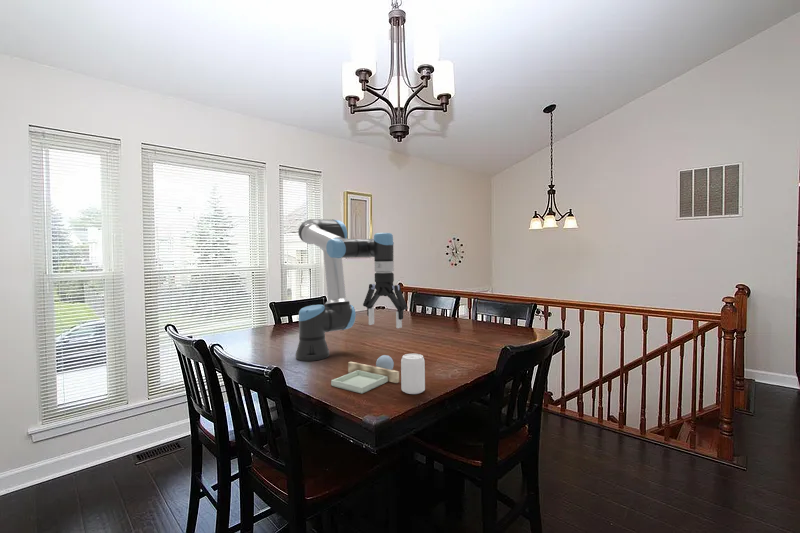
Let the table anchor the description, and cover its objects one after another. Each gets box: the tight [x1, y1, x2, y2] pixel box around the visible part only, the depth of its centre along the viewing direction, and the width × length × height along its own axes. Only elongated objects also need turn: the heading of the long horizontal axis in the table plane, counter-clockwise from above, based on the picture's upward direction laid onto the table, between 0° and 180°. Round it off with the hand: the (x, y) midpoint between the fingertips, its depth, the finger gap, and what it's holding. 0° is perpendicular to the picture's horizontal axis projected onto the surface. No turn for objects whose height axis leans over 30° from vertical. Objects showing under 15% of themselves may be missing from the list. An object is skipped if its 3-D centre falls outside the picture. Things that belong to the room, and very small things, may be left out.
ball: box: [375, 354, 395, 370], centre depth 153 cm, size 7×7×7 cm
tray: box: [330, 370, 389, 395], centre depth 141 cm, size 14×14×2 cm
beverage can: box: [400, 353, 426, 395], centre depth 133 cm, size 8×8×12 cm
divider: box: [347, 360, 400, 384], centre depth 148 cm, size 24×2×4 cm, turn 55°
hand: (384, 326), depth 153 cm, fingers open, 13 cm apart
